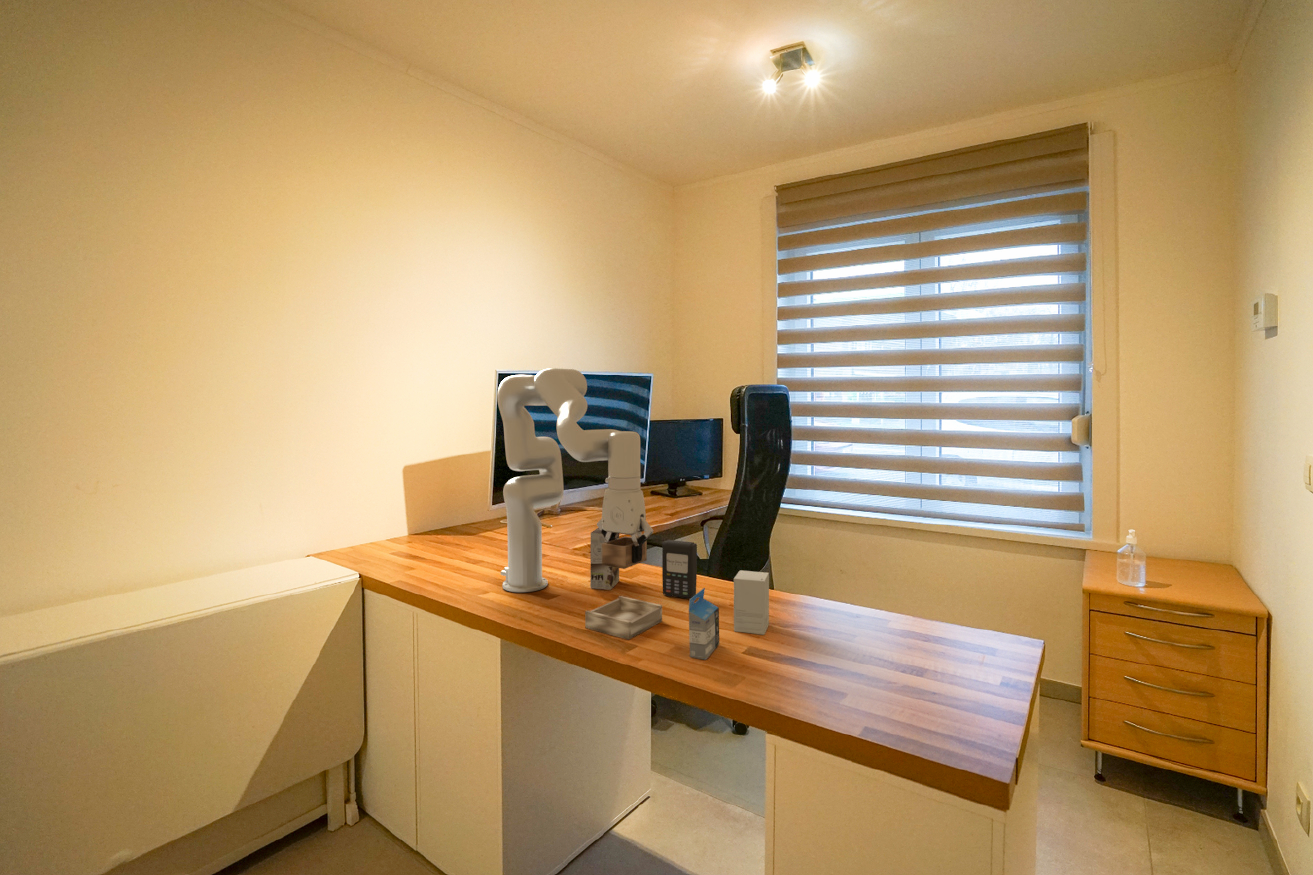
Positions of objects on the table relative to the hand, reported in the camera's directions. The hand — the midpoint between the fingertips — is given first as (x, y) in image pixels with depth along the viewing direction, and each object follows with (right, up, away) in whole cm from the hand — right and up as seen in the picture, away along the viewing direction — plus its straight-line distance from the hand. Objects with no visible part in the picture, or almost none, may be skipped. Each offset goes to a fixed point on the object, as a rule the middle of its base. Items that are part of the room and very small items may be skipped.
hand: (624, 558), depth 142 cm
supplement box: (+30, -16, -1) cm, 34 cm away
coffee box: (-7, -14, +32) cm, 36 cm away
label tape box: (+18, -17, -14) cm, 28 cm away
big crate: (0, -16, +1) cm, 16 cm away
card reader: (+14, -15, +22) cm, 30 cm away
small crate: (0, -1, 0) cm, 1 cm away
